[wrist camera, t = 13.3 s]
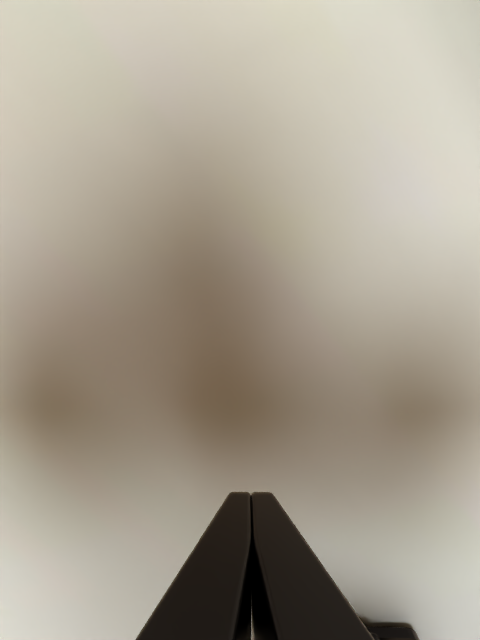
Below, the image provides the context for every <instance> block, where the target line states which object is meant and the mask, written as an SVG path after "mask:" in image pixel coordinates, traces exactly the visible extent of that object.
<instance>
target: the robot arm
mask: <svg viewBox="0 0 480 640" xmlns="http://www.w3.org/2000/svg"><path fill="white" fill-rule="evenodd" d="M251 609H252V631H253V640H419V638H418V636H417V633H416V632H415V631H414V630H413V629H411V628H392V627H365V625H364V624H363V622H362V621H361V620H360V618H359V617H358V615H357V614H356V612H355V611H354V609H353V608H352V607H351V605H350V604H349V602H348V601H347V599H346V598H345V597H344V595H343V594H342V592H341V591H340V589H339V588H338V587H337V585H336V584H335V582H334V581H333V579H332V578H331V577H330V575H329V574H328V572H327V571H326V569H325V568H324V567H323V565H322V564H321V562H320V561H319V559H318V558H317V556H316V555H315V554H314V552H313V551H312V549H311V548H310V546H309V545H308V544H307V542H306V541H305V539H304V538H303V536H302V535H301V534H300V532H299V531H298V529H297V528H296V526H295V525H294V524H293V522H292V521H291V519H290V518H289V516H288V515H287V514H286V512H285V511H284V509H283V508H282V506H281V505H280V503H279V502H278V501H277V499H276V498H275V496H274V495H273V494H272V493H270V492H253V493H252V495H250V493H249V492H231V493H230V494H229V495H228V496H227V498H226V499H225V501H224V503H223V504H222V506H221V507H220V509H219V510H218V512H217V513H216V515H215V517H214V518H213V520H212V521H211V523H210V524H209V526H208V527H207V529H206V531H205V532H204V534H203V535H202V537H201V538H200V540H199V541H198V543H197V545H196V546H195V548H194V549H193V551H192V552H191V554H190V555H189V557H188V559H187V560H186V562H185V563H184V565H183V566H182V568H181V570H180V571H179V573H178V574H177V576H176V577H175V579H174V580H173V582H172V584H171V585H170V587H169V588H168V590H167V591H166V593H165V594H164V596H163V598H162V599H161V601H160V602H159V604H158V605H157V607H156V608H155V610H154V612H153V613H152V615H151V616H150V618H149V619H148V621H147V623H146V624H145V626H144V627H143V629H142V630H141V632H140V633H139V635H138V637H137V638H136V640H251Z"/></svg>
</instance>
